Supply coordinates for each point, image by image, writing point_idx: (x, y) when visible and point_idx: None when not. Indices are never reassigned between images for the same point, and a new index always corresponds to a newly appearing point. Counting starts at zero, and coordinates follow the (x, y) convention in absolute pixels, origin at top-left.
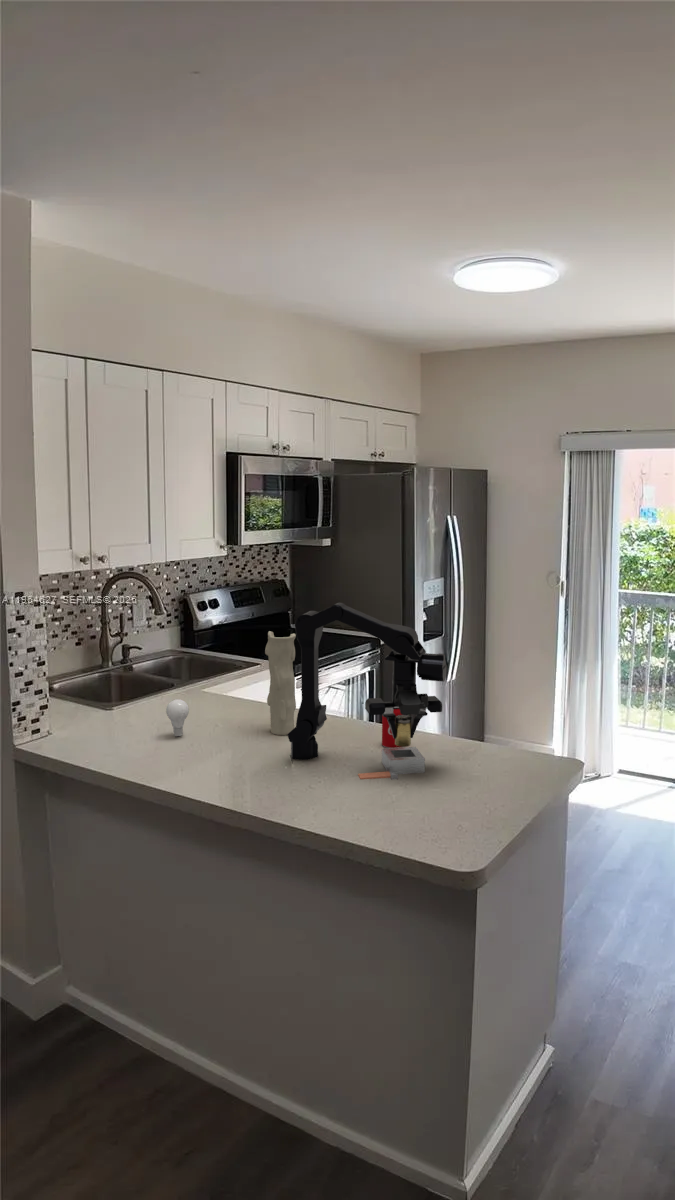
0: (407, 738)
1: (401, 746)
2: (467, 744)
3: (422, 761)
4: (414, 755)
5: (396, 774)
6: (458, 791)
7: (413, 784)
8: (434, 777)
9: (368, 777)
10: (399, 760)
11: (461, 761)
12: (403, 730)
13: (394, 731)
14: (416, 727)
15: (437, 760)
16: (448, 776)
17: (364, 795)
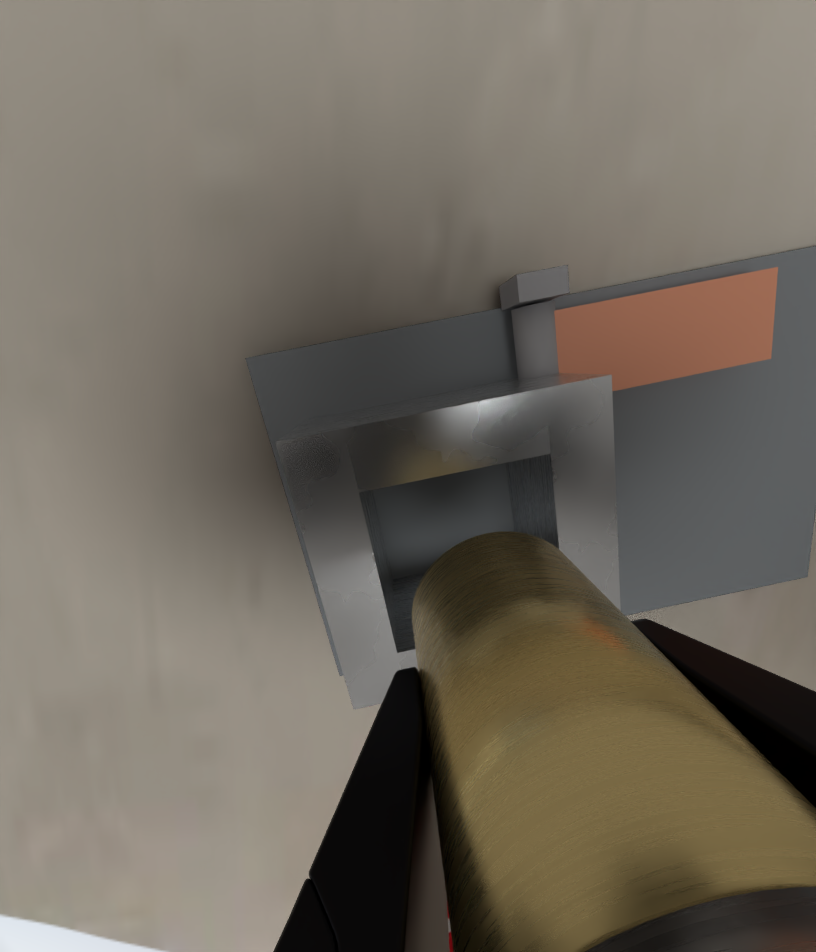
0: (479, 597)
1: (523, 534)
2: (73, 897)
3: (303, 434)
4: (370, 537)
5: (525, 286)
6: (39, 120)
7: (387, 275)
8: (240, 415)
9: (719, 278)
10: (518, 392)
11: (81, 683)
12: (622, 682)
13: (751, 685)
14: (322, 842)
15: (228, 685)
16: (144, 438)
17: (761, 30)
